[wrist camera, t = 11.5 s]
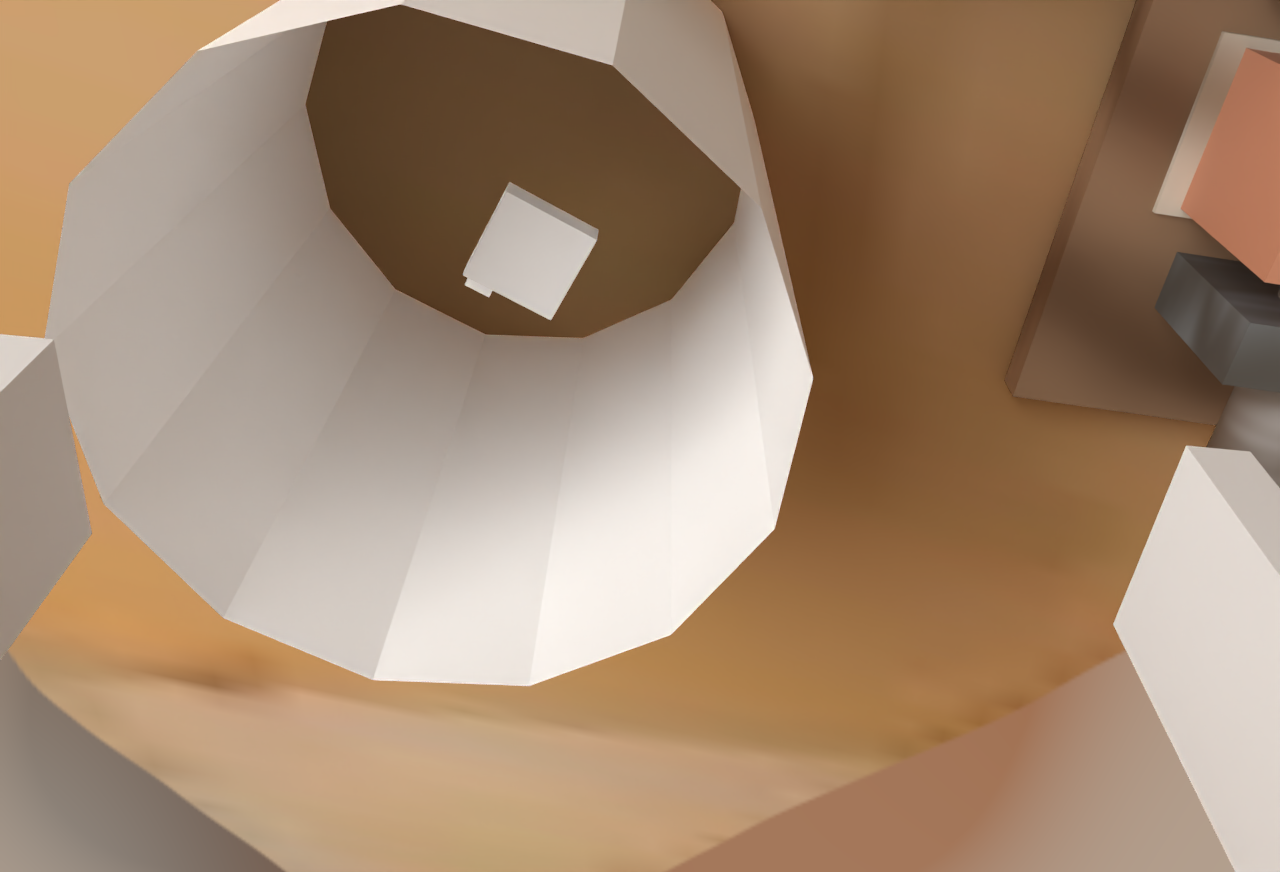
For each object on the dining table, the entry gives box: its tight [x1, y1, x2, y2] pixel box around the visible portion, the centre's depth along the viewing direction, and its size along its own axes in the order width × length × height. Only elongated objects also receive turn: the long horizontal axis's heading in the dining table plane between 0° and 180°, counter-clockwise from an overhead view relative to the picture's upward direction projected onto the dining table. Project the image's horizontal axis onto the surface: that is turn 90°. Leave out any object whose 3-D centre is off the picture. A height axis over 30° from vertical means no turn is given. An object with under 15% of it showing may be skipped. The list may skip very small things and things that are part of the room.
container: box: [45, 0, 813, 686], centre depth 30 cm, size 14×14×18 cm
